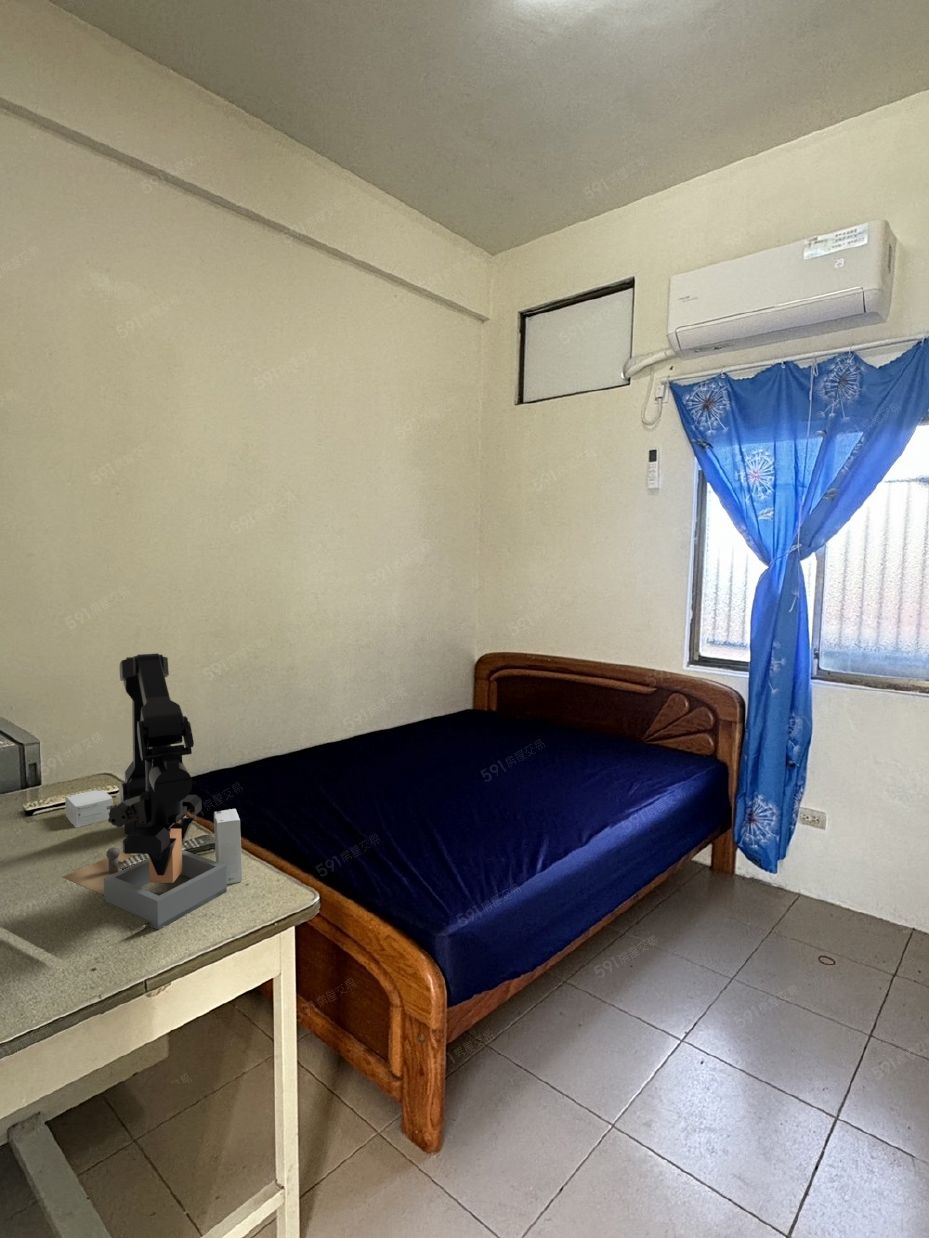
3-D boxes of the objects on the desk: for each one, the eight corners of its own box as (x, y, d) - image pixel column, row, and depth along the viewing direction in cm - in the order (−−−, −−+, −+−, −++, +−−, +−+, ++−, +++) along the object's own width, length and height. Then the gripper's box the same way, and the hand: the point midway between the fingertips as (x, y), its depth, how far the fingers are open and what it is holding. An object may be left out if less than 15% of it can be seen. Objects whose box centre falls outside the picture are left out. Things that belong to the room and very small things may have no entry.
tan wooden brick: (159, 871, 118) (158, 828, 117) (182, 871, 118) (181, 828, 118) (149, 882, 114) (148, 838, 113) (173, 882, 114) (172, 838, 114)
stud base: (123, 855, 132) (122, 828, 131) (163, 871, 126) (162, 843, 126) (62, 881, 122) (61, 852, 121) (103, 900, 116) (101, 869, 115)
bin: (174, 871, 126) (174, 846, 126) (226, 891, 120) (226, 865, 119) (104, 905, 114) (103, 878, 113) (158, 930, 107) (157, 901, 107)
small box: (75, 829, 144) (74, 806, 143) (65, 817, 149) (64, 795, 149) (114, 819, 149) (113, 797, 149) (103, 808, 155) (102, 787, 154)
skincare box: (243, 881, 123) (242, 819, 122) (217, 886, 121) (216, 823, 120) (238, 867, 129) (238, 807, 127) (214, 871, 127) (213, 810, 125)
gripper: (141, 764, 124) (143, 844, 125) (87, 803, 105) (91, 896, 107) (201, 765, 124) (203, 845, 126) (158, 804, 105) (161, 897, 107)
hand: (166, 868), depth 116 cm, fingers closed on tan wooden brick, 4 cm apart
